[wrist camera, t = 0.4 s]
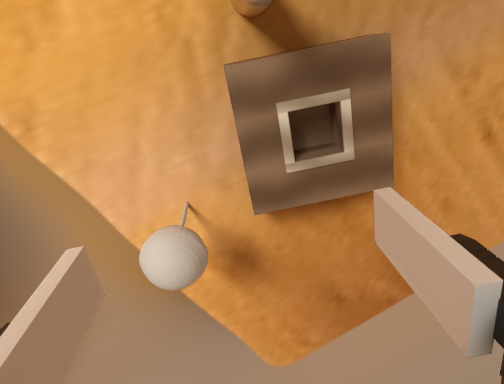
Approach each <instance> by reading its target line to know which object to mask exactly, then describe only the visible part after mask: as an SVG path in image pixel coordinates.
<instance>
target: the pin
mask: <svg viewBox="0 0 504 384" xmlns="http://www.w3.org/2000/svg"><path fill="white" fill-rule="evenodd" d="M272 1H273V0H231V3H232V5H233V7H234V8H235V10H236V11H237V12H238V13H240V14H241V15H244V16H248V17H252V16H256V15H258V14H260V13H261V12H262V11H263V10H264V9H265V8H266V7H267V6H268V5H269V4H270V3H271V2H272Z"/></svg>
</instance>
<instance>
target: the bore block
mask: <svg viewBox="0 0 504 384" xmlns="http://www.w3.org/2000/svg"><path fill="white" fill-rule="evenodd" d="M224 70H225V74H226V79H227V84H228V89H229V94H230V99H231V103H232V108H233V113H234V118H235V123H236V128H237V132H238V137H239V142H240V147H241V152H242V157H243V161H244V166H245V171H246V176H247V181H248V186H249V190H250V195H251V200H252V205H253V210H254V215H259V214H263V213H268V212H273V211H278V210H283V209H288V208H293V207H298V206H302V205H307V204H312V203H317V202H322V201H327V200H332V199H336V198H341V197H346V196H351V195H356V194H361V193H366V192H371V191H373V190H377V189H382V188H387V187H394V176H393V134H392V93H391V52H390V33H382V34H373V35H367V36H362V37H357V38H352V39H347V40H342V41H337V42H332V43H327V44H322V45H318V46H313V47H308V48H303V49H298V50H293V51H288V52H283V53H278V54H273V55H269V56H264V57H259V58H254V59H249V60H244V61H239V62H234V63H229V64H224Z"/></svg>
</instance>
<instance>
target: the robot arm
mask: <svg viewBox="0 0 504 384" xmlns="http://www.w3.org/2000/svg"><path fill="white" fill-rule="evenodd" d="M373 192H374V225H375V243H376V244H377V245H378V246H379V248H380V249H381V250H382V252H383V253H384V254H385V255H386V257H387V258H388V259H389V260H390V262H391V263H392V264H393V265H394V267H395V268H396V269H397V271H398V272H399V273H400V274H401V276H402V277H403V278H404V279H405V281H406V282H407V283H408V284H409V286H410V287H411V288H412V290H413V291H414V292H415V293H416V295H417V296H418V297H419V298H420V300H421V301H422V302H423V304H424V305H425V306H426V307H427V309H428V310H429V311H430V312H431V314H432V315H433V316H434V317H435V319H436V320H437V321H438V322H439V324H440V325H441V326H442V328H443V329H444V330H445V331H446V333H447V334H448V335H449V336H450V338H451V339H452V340H453V342H454V343H455V344H456V345H457V347H458V348H459V349H460V350H461V352H462V353H463V354H464V355H465V357H466V358H471V357H476V356H481V355H486V354H491V353H492V348H493V342H494V339H495V340H496V341H497V342H498V343H499V344H500V345H501V346H502V347H503V349H504V262H503V261H502V260H501V259H500V258H498V257H497V258H496V255H494V254H493V253H491V252H490V251H489V250H487V249H486V248H485V247H484V246H483V245H481V244H480V243H479V242H477V241H476V240H474V239H472V238H469V237H467V236H464V235H462V234H457V235H451V236H449V235H448V234H447V233H445V232H444V231H443V230H442V229H441V228H439V227H438V226H437V225H436V224H434V223H433V222H432V221H431V220H430V219H428V218H427V217H426V216H425V215H424V214H422V213H421V212H420V211H419V210H418V209H416V208H415V207H414V206H413V205H412V204H410V203H409V202H408V201H407V200H405V199H404V198H403V197H402V196H401V195H399V194H398V193H397V192H396V191H395V190H393V189H392V188H391V187H387V188H382V189H377V190H373ZM104 296H105V293H104V291H103V289H102V287H101V284H100V282H99V280H98V278H97V275H96V273H95V271H94V268H93V266H92V264H91V262H90V259H89V257H88V255H87V252H86V250H85V248H84V246H82V247H78V248H72V249H67V250H66V251H65V253H64V254H63V255H62V256H61V258H60V259H59V260H58V262H57V263H56V264H55V266H54V267H53V269H52V270H51V271H50V272H49V274H48V275H47V276H46V277H45V279H44V280H43V281H42V283H41V284H40V285H39V287H38V288H37V289H36V291H35V292H34V293H33V294H32V296H31V297H30V298H29V300H28V301H27V302H26V304H25V305H24V306H23V308H22V309H21V310H20V312H19V313H18V314H17V315H16V317H15V318H14V319H13V321H12V322H11V323H7V324H6V325H5V326H3V327H2V328H1V329H0V384H64V381H65V379H66V377H67V375H68V373H69V371H70V368H71V366H72V364H73V362H74V360H75V358H76V356H77V353H78V351H79V349H80V347H81V345H82V343H83V341H84V338H85V337H86V334H87V332H88V330H89V328H90V326H91V324H92V322H93V319H94V317H95V315H96V313H97V310H98V309H99V307H100V304H101V302H102V300H103V298H104ZM500 375H501V376H502V380H501V384H504V355H503V360H502V366H501V371H500Z"/></svg>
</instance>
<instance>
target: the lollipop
mask: <svg viewBox="0 0 504 384" xmlns="http://www.w3.org/2000/svg"><path fill="white" fill-rule="evenodd" d="M188 205H189V203H188V202H185V205H184V210H183V214H182V218H181V222H180V226H178V225H172V226H166V227H163V228H161V229H159V230H157V231H156V232H155V233H153V234H152V235H151V236H150V237H149V238H148V239H147V240H146V241H145V243H144V244H143V246H142V248H141V252H140V258H139V262H140V267H141V269H142V271H143V272H144V274H145V275H146V277H147V278H148V279H149V281H150V282H151V283H153V284H154V285H155V286H157V287H159V288H162V289H166V290H180V289H184V288H186V287H188V286H190V285H191V284H192V283H194V282H195V281H196V280H197V279H198V278H199V277H200V276H201V275H202V274H203V272H204V271H205V268H206V266H207V262H208V251H207V248H206V246H205V244H204V243H203V241H202V240H201V238H200V237H199V235H198V234H197V233H195V232H194V231H193V230H191V229H189V228H187V227H184V223H185V219H186V214H187V209H188Z"/></svg>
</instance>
